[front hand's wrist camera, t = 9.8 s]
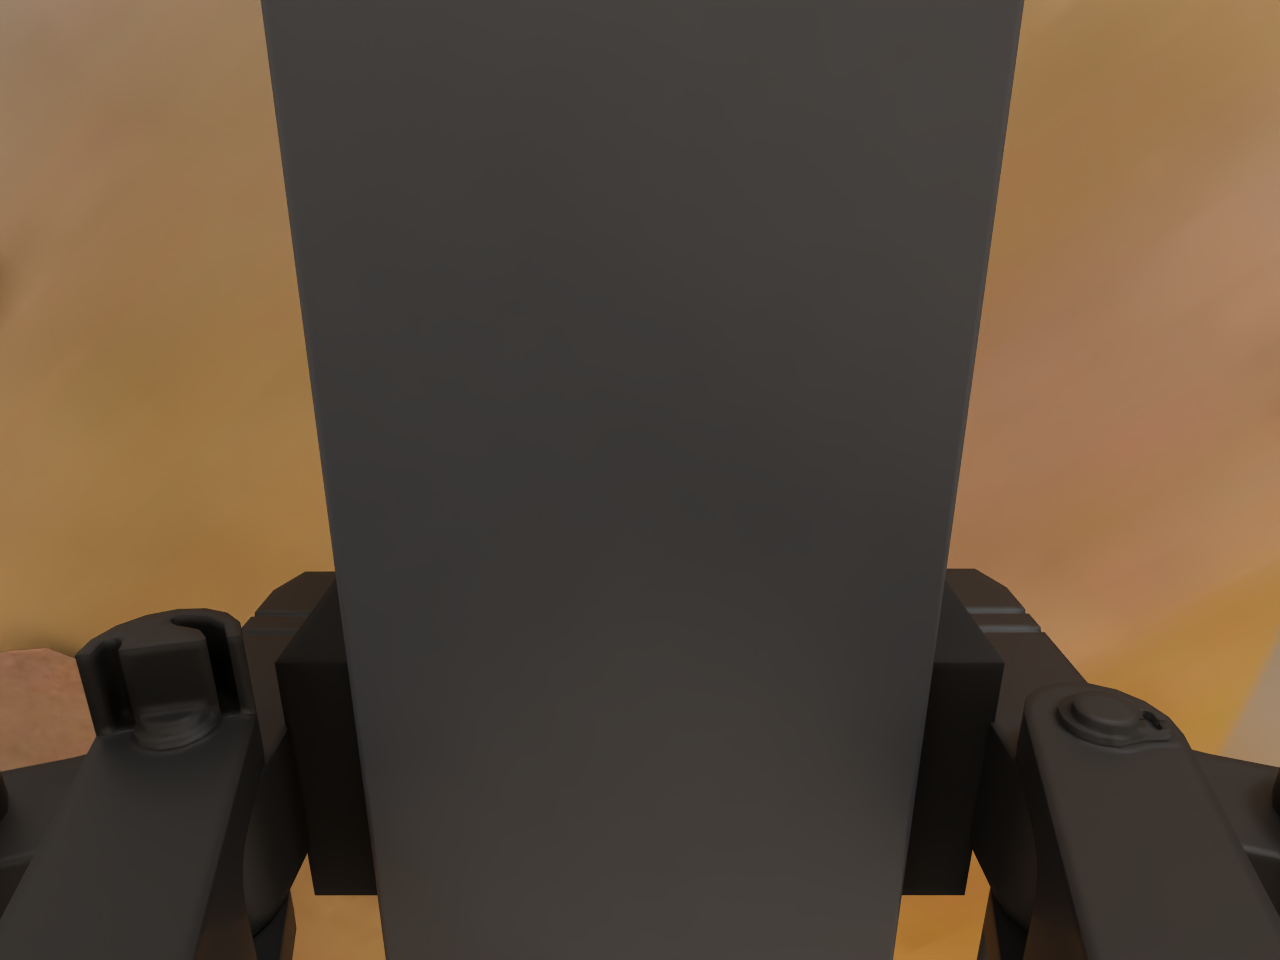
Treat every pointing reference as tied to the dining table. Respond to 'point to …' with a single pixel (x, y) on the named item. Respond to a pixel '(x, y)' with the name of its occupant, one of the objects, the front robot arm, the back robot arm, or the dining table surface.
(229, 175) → the dining table surface
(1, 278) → the dining table surface
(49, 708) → the stone
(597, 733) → the post
